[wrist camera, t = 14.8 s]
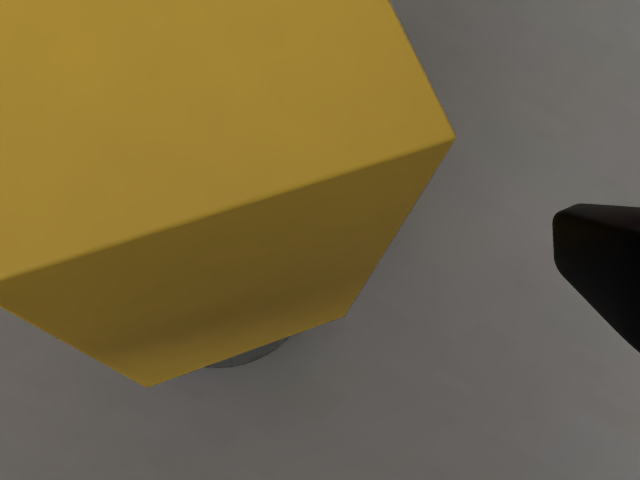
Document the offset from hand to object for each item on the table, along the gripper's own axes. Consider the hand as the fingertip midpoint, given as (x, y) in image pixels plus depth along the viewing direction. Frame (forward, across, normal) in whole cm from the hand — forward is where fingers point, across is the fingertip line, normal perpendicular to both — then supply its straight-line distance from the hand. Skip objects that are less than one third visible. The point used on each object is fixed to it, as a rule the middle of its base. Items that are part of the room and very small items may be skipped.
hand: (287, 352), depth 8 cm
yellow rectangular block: (+7, 0, +1) cm, 7 cm away
